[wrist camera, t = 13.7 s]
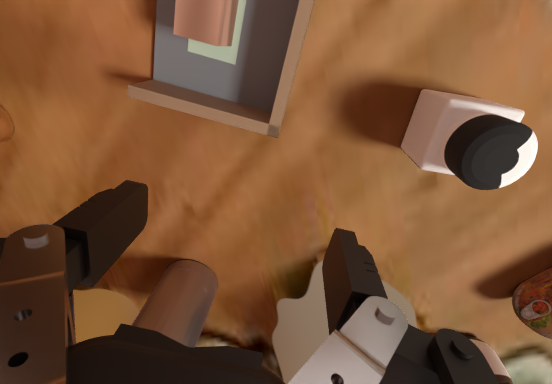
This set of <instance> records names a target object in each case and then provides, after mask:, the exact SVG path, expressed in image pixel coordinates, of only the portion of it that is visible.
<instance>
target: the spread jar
mask: <svg viewBox="0 0 552 384" xmlns="http://www.w3.org/2000/svg"><path fill="white" fill-rule="evenodd" d="M464 336H466V337H467V338H468V339H470V340H471V341H472V342H473V343H474V344H475V345H476V346H477V347H478V348H479V349H480V350H481V352H482V353H483V355H484V356H485V358H486V360H487V362H488V363H489V365H490V367H491V369H492V371H493V372H494V374H495V376H496V378H497V380H498V381H499V383H500V384H513V383H512V380H511V378H510V376H509V374H508V372H507V370H506V369H505V367H504V365H503V364H502V362H501V361H500V359H499V357H498V356H497V354H496V353H495V352H494V350H493V349H492V348H491V347H490V346H489V345H488V344H486V343H485V342H483V341H481V340H479V339H477V338H475V337H471V336H468V335H464Z"/></svg>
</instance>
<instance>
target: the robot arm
mask: <svg viewBox="0 0 552 384" xmlns="http://www.w3.org/2000/svg"><path fill="white" fill-rule="evenodd" d="M147 216H148V187H147V185H146V184H143V183H138V182H134V181H129V180H126V181H124V182H123V183H122V184H120V185H119V186H118V187H116V188H115V189H108V190H105V191H102V192H99V193H97V194H95V195H94V196H92V197H91V198H90V199H88V201H85V202H84V203H82V204H81V205H80V207H77V208H75V209H74V210H72V211H71V212H69V213H68V214H67V215H65V216H64V217H62V218H61V219H59V220H58V221H57V222H55V223H54V224H52V225H50V224H38V225H32V226H27V227H24V228H21V229H19V230H17V231H15V232H13V233H12V234H10V235H9V236H8V237H7V238H0V384H285V383H284V382H283V381H282V380H281V379H280V378H279V377H278V376H277V375H276V374H275V373H273V372H272V371H270V370H269V369H267V368H266V367H264V366H262V365H261V363H262V355H263V353H259V352H255V351H250V350H245V349H240V348H236V347H231V346H216V347H196V345H197V343H198V340H199V337H200V334H201V332H202V329H203V326H204V323H205V321H206V318H207V315H208V312H209V310H210V307H211V305H212V302H213V299H214V296H215V293H216V291H217V287H218V282H217V279H216V276H215V275H214V273H213V272H212V271H211V270H210V269H209V268H208V267H206V266H205V265H203V264H201V263H199V262H196V261H191V260H180V261H176V262H174V263H172V264H171V265H169V266H168V268H167V269H166V271H165V272H164V274H163V275H162V277H161V279H160V280H159V282H158V283H157V285H156V286H155V288H154V290H153V291H152V293H151V295H150V296H149V298H148V299H147V301H146V303H145V304H144V306H143V307H142V309H141V311H140V312H139V314H138V316H137V317H136V319H135V320H134V322H133V324H132V325H126V324H121V325H120V326H119V328H118V329H117V331H116V332H115V334H114V335H108V336H101V337H96V338H92V339H88V340H85V341H82V342H79V343H76V333H75V314H74V297H73V290H74V289H75V288H76V287H77V286H78V285H84V286H88V287H93V286H94V285H95V284H96V283H97V282H98V280H99V279H100V278H101V277H102V276H103V275H104V274H105V272H106V271H107V270H108V269H109V268H110V267H111V266H112V265H113V263H114V262H115V261H116V260H117V259H118V258H119V257H120V255H121V254H122V253H123V252H124V251H125V250H126V249H127V247H128V246H129V245H130V244H131V243H132V242H133V241H134V240H135V238H136V237H137V236H138V235H139V234H140V233H141V232H142V230H143V229H144V227H145V225H146V222H147ZM322 270H323V271H322V272H323V281H324V290H325V298H326V308H327V318H328V327H329V335H330V336H329V337H328V338H327V339H326V340H325V342H324V343H323V344H322V345H321V346H320V347H319V348H318V350H317V351H316V352H315V353H314V354H313V355H312V357H311V358H310V359H309V360H308V361H307V362H306V363H305V365H304V366H303V367H302V368H301V369H300V370H299V371H298V373H297V374H296V375H295V376H294V377H293V378H292V380H291V381H290V382H289V383H288V384H500V383H499V381H498V380H497V378H496V376H495V374H494V372H493V371H492V369H491V367H490V365H489V363H488V362H487V360H486V358H485V356H484V355H483V353H482V352H481V350H480V349H479V348H478V347H477V346H476V345H475V344H474V343H473V342H472V341H471V340H470V339H468V338H467V337H466V336H464V335H463V334H461V333H459V332H457V331H454V330H451V329H440V330H438V331H437V333H436V334H435V336H432V335H430V334H428V333H425V332H423V331H421V330H419V329H417V328H415V327H413V326H411V325H409V324H408V320H407V318H406V316H405V314H404V313H403V311H402V310H401V309H400V308H399V307H398V306H397V305H396V304H394V303H393V302H391V301H390V300H388V298H387V295H386V292H385V290H384V287H383V284H382V281H381V279H380V276H379V274H378V270H377V268H376V266H375V262H374V259H373V257H372V255H371V254H370V252H369V251H368V250H367V249H366V248H365V246H361V245H358V242H357V238H356V235H355V233H354V232H352V231H348V230H344V229H339V228H336V229H335V230H334V232H333V235H332V238H331V240H330V243H329V246H328V248H327V251H326V254H325V256H324V260H323V266H322Z"/></svg>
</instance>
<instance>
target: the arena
mask: <svg viewBox="0 0 552 384" xmlns="http://www.w3.org/2000/svg"><path fill="white" fill-rule="evenodd" d="M314 1H315V0H239V2H238V8H237V14H236V21H235V27H234V34H233V40H232V46H214V45H210V44H207V43H203V42H199V41H196V40H192V39H189V38H185V37H182V36H178V35H175V34H173V31H174V17H175V2H176V0H157V7H156V28H155V50H154V71H153V79H152V80H148V81H143V82H138V83H134V84H129V85H128V97H131V98H134V99H138V100H142V101H145V102H149V103H152V104H156V105H160V106H163V107H167V108H170V109H174V110H178V111H181V112H185V113H188V114H192V115H196V116H199V117H203V118H207V119H210V120H214V121H217V122H221V123H225V124H228V125H232V126H235V127H239V128H243V129H246V130H250V131H253V132H257V133H261V134H264V135H268V136H271V137H275V138H278V134H279V131H280V128H281V125H282V121H283V117H284V113H285V110H286V106H287V102H288V98H289V94H290V91H291V87H292V83H293V79H294V76H295V72H296V68H297V64H298V61H299V57H300V53H301V49H302V46H303V42H304V38H305V34H306V31H307V27H308V23H309V19H310V16H311V12H312V8H313V4H314Z"/></svg>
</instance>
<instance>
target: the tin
mask: <svg viewBox="0 0 552 384" xmlns="http://www.w3.org/2000/svg"><path fill="white" fill-rule="evenodd" d="M512 305H513V309H514V311H515V314H516V315H517V317H518V318H519V319H520V320H521V321H522V322H523V323H524V324H525V325H527V326H528V327H529V328H531V329H532V330H533V331H535V332H536V333H538V334H540V335H542V336H544V337H547V338H550V339H552V267H550V268H549V269H547V270H545V271H543V272H541V273H539V274H537V275H535V276H533V277H531V278H529V279H527V280H526V281H524V282H522V283H521V284H520V285H519V286H518V287H517V288H516V290H515V291H514V294H513V297H512Z"/></svg>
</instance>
